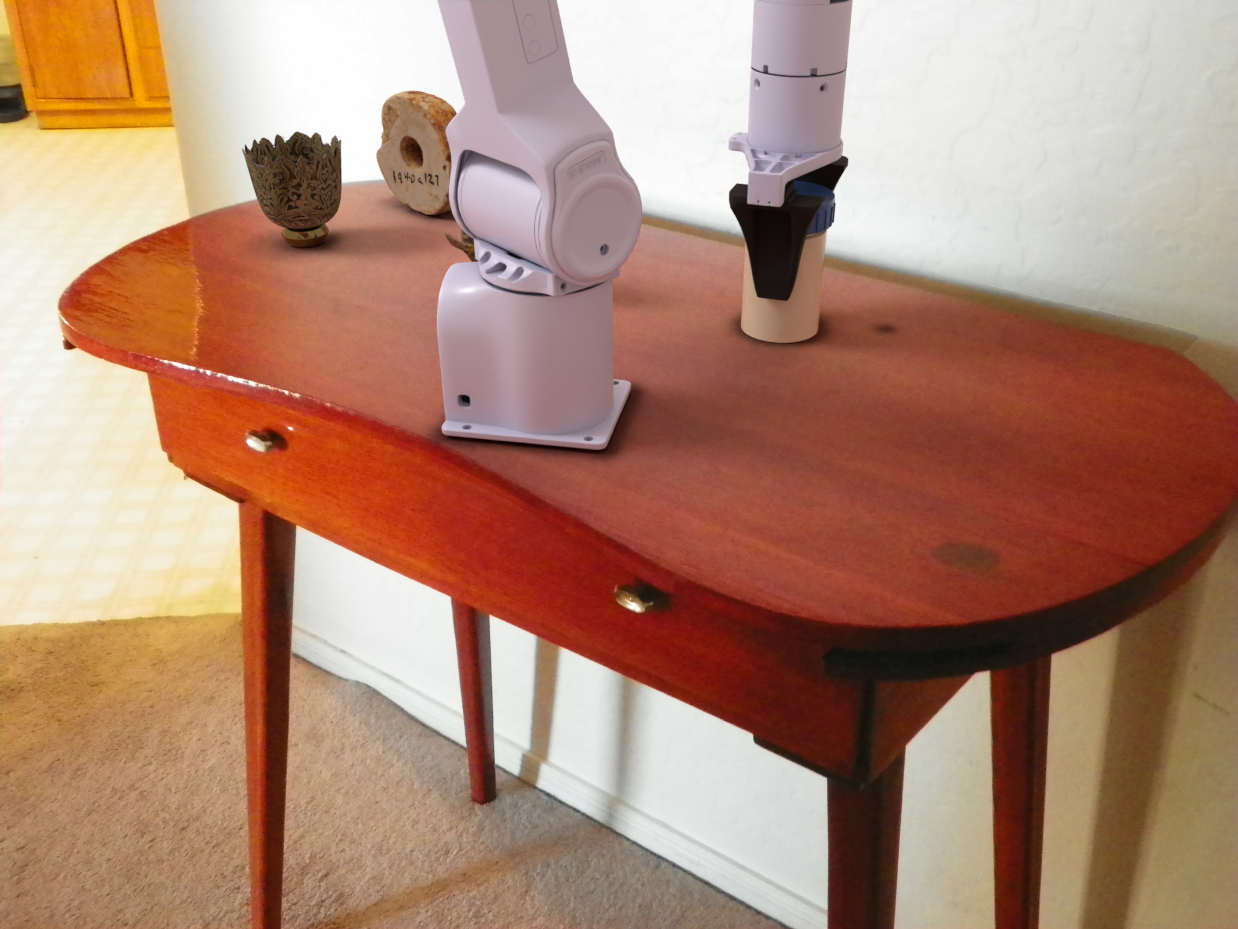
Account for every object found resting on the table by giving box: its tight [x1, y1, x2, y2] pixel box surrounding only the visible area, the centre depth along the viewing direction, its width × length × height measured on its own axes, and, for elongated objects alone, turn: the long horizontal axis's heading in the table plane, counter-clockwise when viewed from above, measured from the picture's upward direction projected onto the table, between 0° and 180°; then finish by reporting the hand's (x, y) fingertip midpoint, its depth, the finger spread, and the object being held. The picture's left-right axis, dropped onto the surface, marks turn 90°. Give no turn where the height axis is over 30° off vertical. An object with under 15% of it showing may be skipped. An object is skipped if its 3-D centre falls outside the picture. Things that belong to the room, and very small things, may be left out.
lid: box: [794, 181, 837, 235], centre depth 73 cm, size 6×6×2 cm
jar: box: [740, 229, 828, 344], centre depth 75 cm, size 5×5×9 cm
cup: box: [241, 131, 343, 248], centre depth 90 cm, size 8×7×8 cm
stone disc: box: [375, 90, 458, 216], centre depth 97 cm, size 10×4×10 cm, turn 45°
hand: (784, 280), depth 75 cm, fingers closed on lid, 5 cm apart
